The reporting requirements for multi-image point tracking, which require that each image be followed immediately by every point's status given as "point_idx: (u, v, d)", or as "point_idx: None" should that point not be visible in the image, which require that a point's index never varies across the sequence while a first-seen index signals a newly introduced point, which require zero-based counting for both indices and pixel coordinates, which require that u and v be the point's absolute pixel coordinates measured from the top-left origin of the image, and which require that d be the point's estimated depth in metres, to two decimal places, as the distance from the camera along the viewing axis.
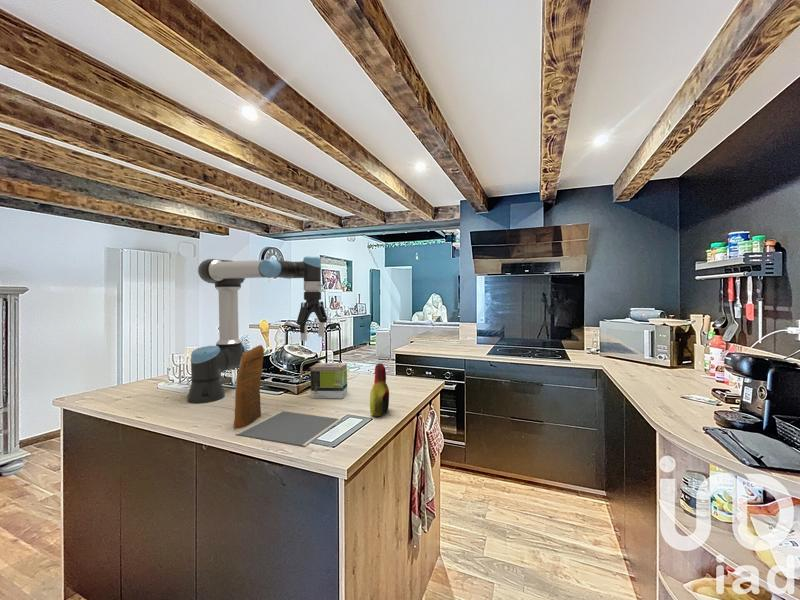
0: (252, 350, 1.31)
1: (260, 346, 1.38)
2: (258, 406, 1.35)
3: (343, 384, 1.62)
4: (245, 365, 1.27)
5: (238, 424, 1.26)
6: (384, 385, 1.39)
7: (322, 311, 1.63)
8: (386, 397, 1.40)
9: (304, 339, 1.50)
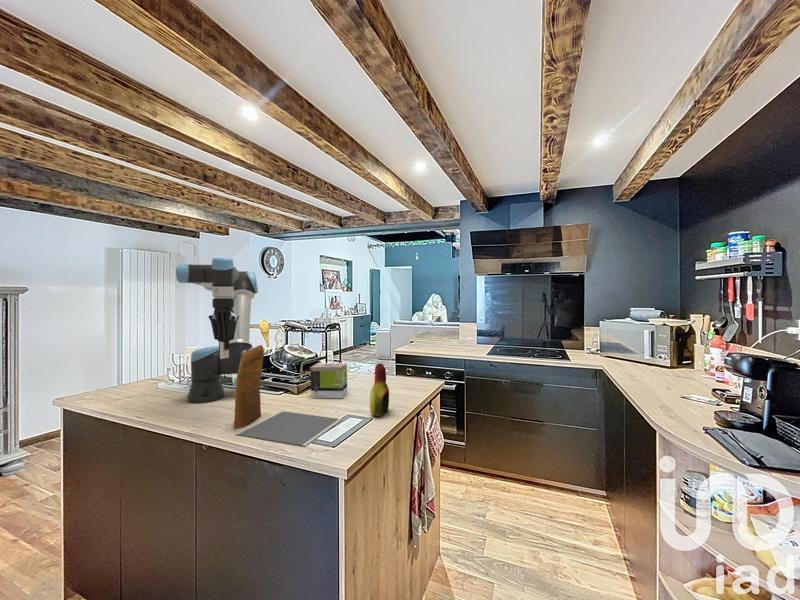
0: (252, 350, 1.31)
1: (260, 346, 1.38)
2: (258, 406, 1.35)
3: (343, 383, 1.62)
4: (245, 365, 1.27)
5: (238, 424, 1.26)
6: (384, 385, 1.39)
7: None
8: (386, 397, 1.40)
9: None
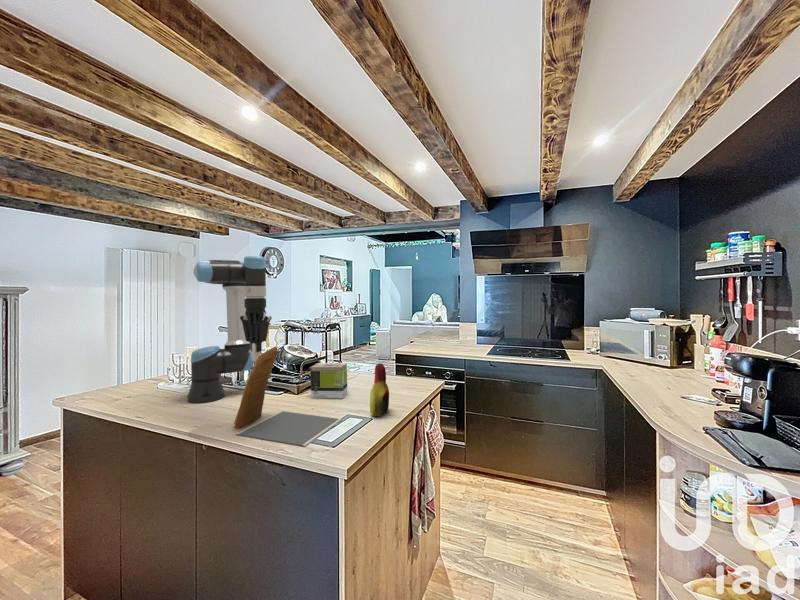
0: (267, 352, 1.30)
1: (275, 348, 1.38)
2: (261, 407, 1.35)
3: (343, 384, 1.62)
4: (258, 367, 1.27)
5: (239, 423, 1.26)
6: (384, 385, 1.39)
7: None
8: (386, 397, 1.40)
9: None
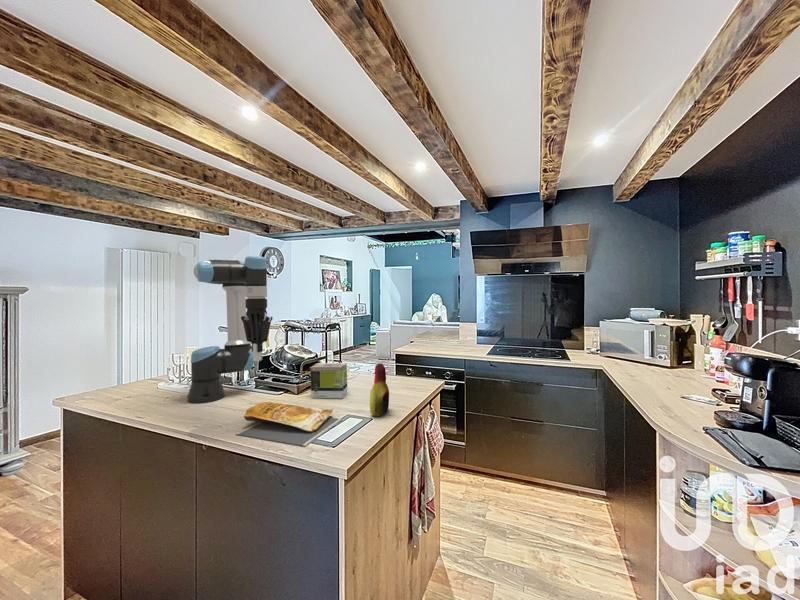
0: None
1: None
2: None
3: (343, 383, 1.62)
4: None
5: (248, 417, 1.26)
6: (384, 385, 1.39)
7: None
8: (386, 397, 1.40)
9: None
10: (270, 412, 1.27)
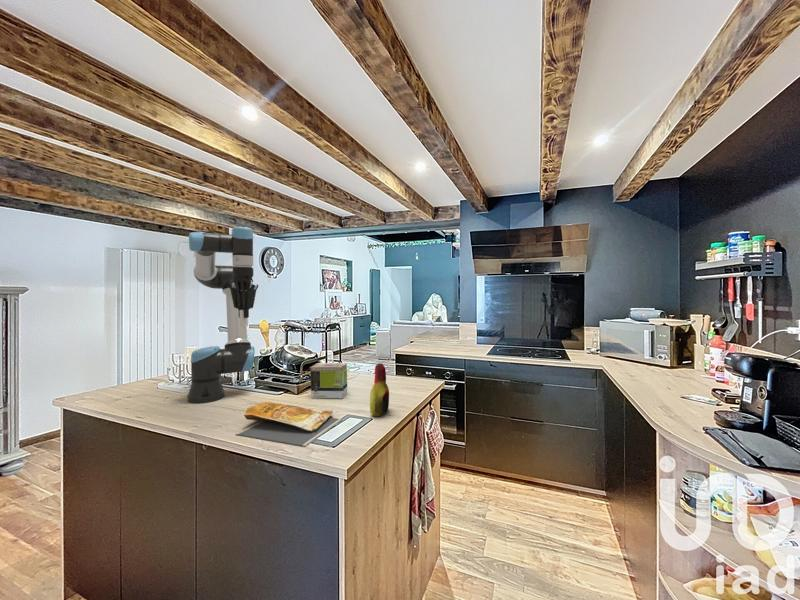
0: (322, 422, 1.28)
1: None
2: None
3: (343, 384, 1.62)
4: None
5: (248, 416, 1.27)
6: (384, 385, 1.39)
7: None
8: (386, 397, 1.40)
9: None
10: (271, 411, 1.28)
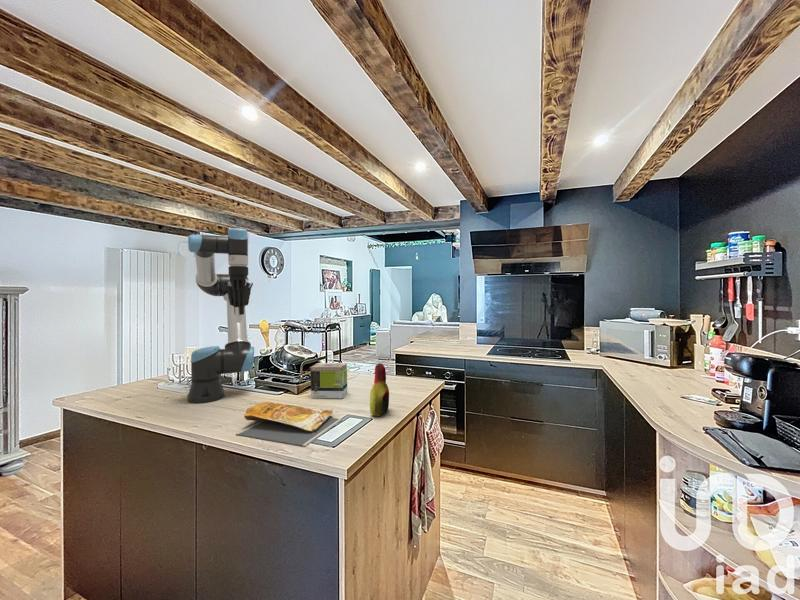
0: None
1: (330, 414, 1.35)
2: None
3: (343, 384, 1.62)
4: None
5: (248, 417, 1.27)
6: (384, 385, 1.39)
7: None
8: (386, 397, 1.40)
9: None
10: (271, 411, 1.27)
